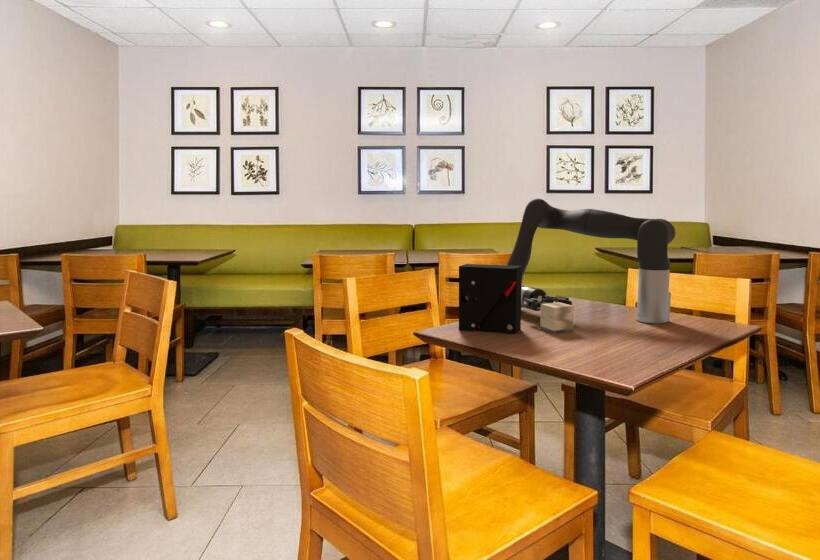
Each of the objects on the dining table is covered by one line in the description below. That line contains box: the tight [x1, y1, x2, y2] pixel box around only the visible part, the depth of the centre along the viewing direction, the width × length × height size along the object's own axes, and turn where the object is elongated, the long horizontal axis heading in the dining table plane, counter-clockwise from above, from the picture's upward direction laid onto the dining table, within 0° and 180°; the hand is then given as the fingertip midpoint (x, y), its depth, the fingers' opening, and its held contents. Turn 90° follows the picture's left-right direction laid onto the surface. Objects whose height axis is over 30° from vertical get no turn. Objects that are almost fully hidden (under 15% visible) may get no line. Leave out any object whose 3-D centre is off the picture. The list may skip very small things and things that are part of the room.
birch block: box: [539, 302, 575, 335], centre depth 169 cm, size 7×7×8 cm
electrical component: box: [458, 263, 522, 335], centre depth 170 cm, size 18×10×20 cm, turn 65°
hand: (559, 305), depth 174 cm, fingers open, 8 cm apart
